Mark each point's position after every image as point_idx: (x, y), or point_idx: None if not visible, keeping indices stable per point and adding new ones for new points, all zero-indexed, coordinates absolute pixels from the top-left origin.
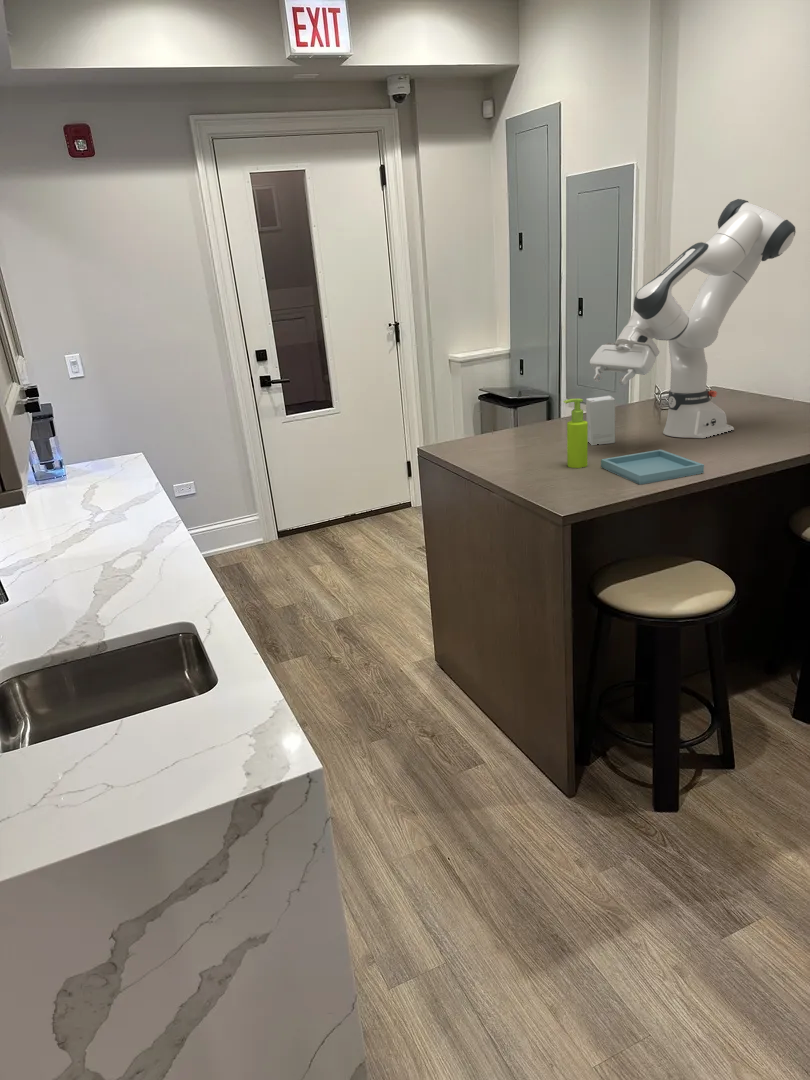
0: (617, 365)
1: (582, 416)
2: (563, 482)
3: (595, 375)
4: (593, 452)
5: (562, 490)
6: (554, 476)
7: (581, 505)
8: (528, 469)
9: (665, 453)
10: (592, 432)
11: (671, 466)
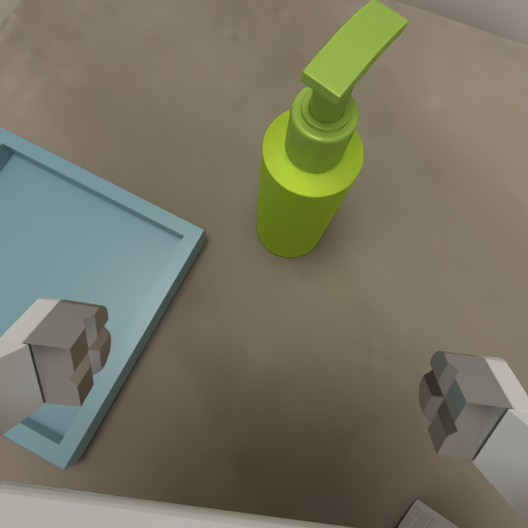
0: (165, 508)
1: (287, 132)
2: (221, 70)
3: (515, 388)
4: (343, 402)
5: (183, 18)
6: (278, 103)
7: None
8: (390, 125)
9: (25, 425)
10: (440, 522)
11: None
